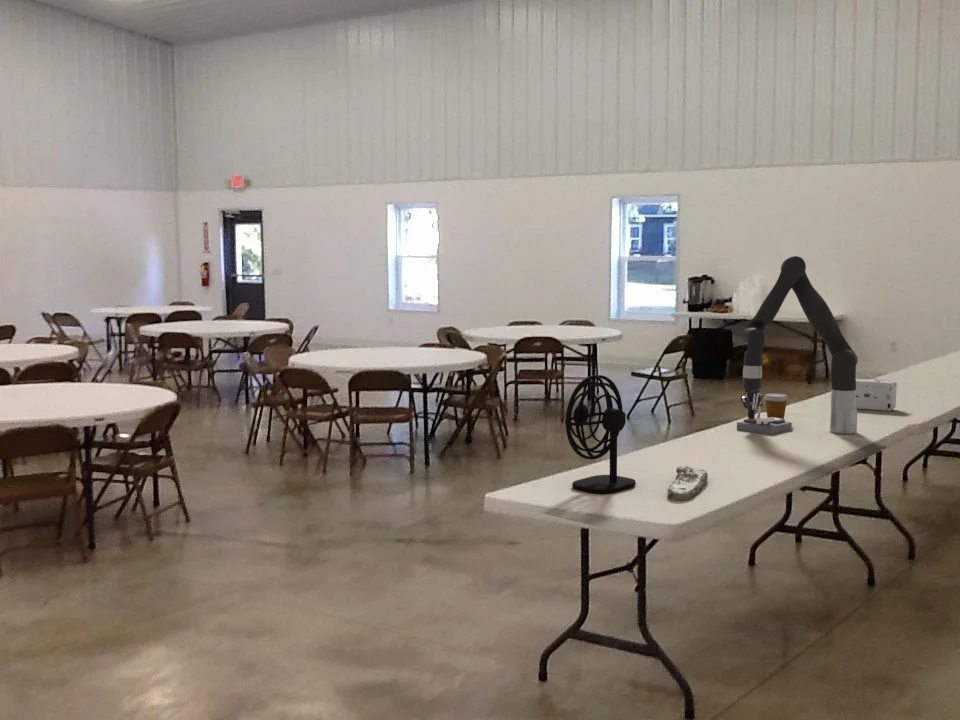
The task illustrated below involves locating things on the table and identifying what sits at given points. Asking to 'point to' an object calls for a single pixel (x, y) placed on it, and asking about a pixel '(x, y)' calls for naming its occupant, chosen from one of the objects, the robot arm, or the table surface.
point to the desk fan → (611, 423)
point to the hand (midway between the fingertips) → (751, 418)
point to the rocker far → (765, 420)
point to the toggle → (759, 410)
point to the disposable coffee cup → (775, 405)
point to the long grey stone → (687, 483)
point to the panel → (764, 426)
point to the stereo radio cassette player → (875, 394)
